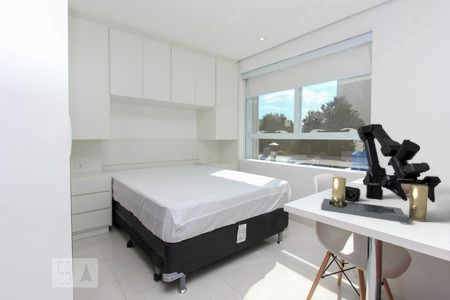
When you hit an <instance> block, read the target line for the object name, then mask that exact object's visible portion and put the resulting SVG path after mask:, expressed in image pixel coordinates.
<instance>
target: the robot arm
mask: <svg viewBox="0 0 450 300" xmlns="http://www.w3.org/2000/svg"><path fill="white" fill-rule="evenodd" d="M356 133H357V135H358V137H359V139H360V140H361V142H363V145H364V149H365V157H366V160H367V161H366V162H367V166H368V168H367V170H366V172H365V176H364V177H363V179H362V184H363V186H365V187H366V190H365V192H366V193H365V198H367V199H372V200H373V199H374V200H383V199H382V198H384V197H383V196H384V190H383V189H385V190H389V191H390V192H392V193H393V194H395V195H397V196H398V197H399V198H400V199H402V200H403V201H404V202H407V201H408V198H407V194H406V195H405V193H404V191H403V189H402V187H401V184H409V185H410V184H421V185H427V186H428V199H429V201H431V202H432V203H435V202H436V198H435V197H436V196H435V188H436V187H437V186H438V185H439V184H441V183H442V180H441V179H440V177H439V176H437V175H425V176H424V177H423V178H422V179H421V178H420V177H421V174H423V173H426V172H428V171H430V170H431V167H430V165H429V164H428V162H420V163H419V162H413V163H412V162H411V163H409V161H412V160H413V159H414V157H415V156H416V155H417V154H418V153H419V152H420V150H421V147H420V145H419V144H418V143H416V142H413V141H411V139H403V141H402V142H401V143H400V142H399V141H397V140H394V139H393V138H392V137H390V135H389V134H388V133H387V131H385V129H384V128H383V124H380V123H371V124H368V125H361V126H360V127H358V128H357V132H356ZM375 139H376V141H377V143H378V144H379V145H380V147H379V149H380V153H381V154H382V156H383V157H385V158H389V160H388V162H387V166H390V167H391V168H392V169H393V174H387V171H386V168H385V167H382V166H381V164H380V160H379V155H378V151H377V150H378V149H377V146H376V141H375Z"/></svg>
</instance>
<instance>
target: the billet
mask: <svg viewBox="0 0 450 300" xmlns="http://www.w3.org/2000/svg"><path fill="white" fill-rule="evenodd" d="M346 181H347V179H346V177H341V176H332V181H331V184H332V186H331V199H332V205H336V206H343V207H345V187H346V186H347V185H346V184H347V183H346Z"/></svg>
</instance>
